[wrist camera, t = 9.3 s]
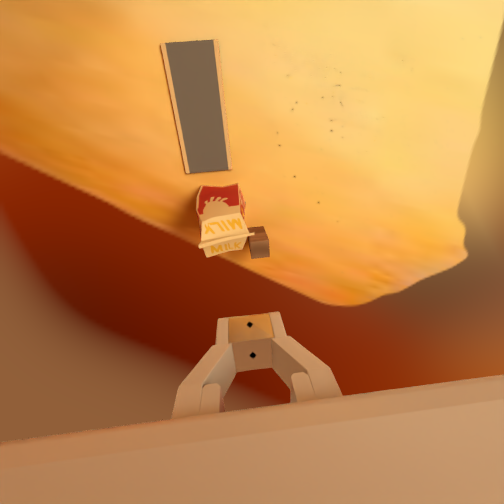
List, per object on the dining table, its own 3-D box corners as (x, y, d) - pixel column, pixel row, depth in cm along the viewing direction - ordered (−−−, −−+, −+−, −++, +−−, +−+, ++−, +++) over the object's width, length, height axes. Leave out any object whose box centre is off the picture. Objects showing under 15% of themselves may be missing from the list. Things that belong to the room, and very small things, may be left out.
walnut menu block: (247, 227, 48) (250, 242, 41) (263, 226, 48) (268, 240, 41) (248, 242, 50) (251, 258, 43) (264, 241, 50) (269, 256, 43)
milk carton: (204, 229, 48) (188, 278, 30) (199, 184, 44) (176, 210, 26) (247, 226, 48) (256, 273, 30) (245, 182, 44) (254, 206, 26)
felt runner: (161, 44, 34) (160, 43, 34) (217, 40, 35) (217, 39, 34) (186, 173, 43) (186, 173, 42) (232, 169, 43) (232, 169, 42)
